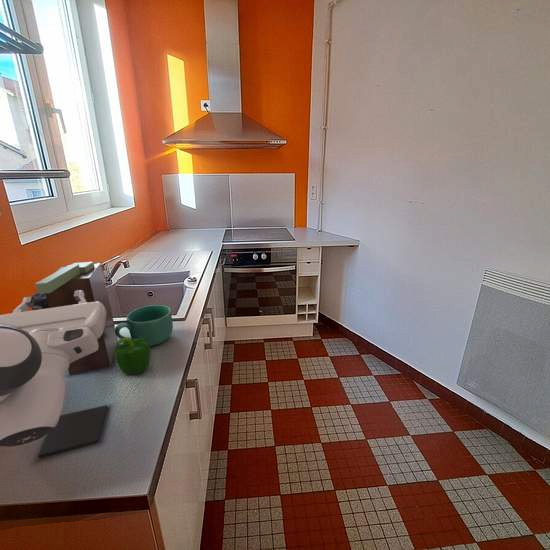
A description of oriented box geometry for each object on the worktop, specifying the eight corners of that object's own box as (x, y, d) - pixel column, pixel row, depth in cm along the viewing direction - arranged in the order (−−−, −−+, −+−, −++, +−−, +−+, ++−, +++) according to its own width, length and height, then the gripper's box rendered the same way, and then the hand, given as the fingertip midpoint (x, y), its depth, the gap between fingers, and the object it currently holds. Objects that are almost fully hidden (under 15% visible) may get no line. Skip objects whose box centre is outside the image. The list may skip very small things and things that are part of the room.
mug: (167, 326, 104) (163, 301, 101) (180, 341, 95) (176, 313, 92) (115, 342, 95) (108, 315, 92) (123, 361, 85) (116, 331, 82)
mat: (38, 457, 57) (37, 455, 56) (56, 418, 66) (55, 416, 65) (98, 442, 59) (97, 439, 59) (107, 407, 68) (106, 404, 68)
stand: (69, 374, 80) (41, 283, 72) (82, 347, 93) (60, 267, 84) (110, 366, 83) (89, 277, 75) (118, 341, 96) (100, 263, 87)
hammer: (56, 292, 66) (53, 282, 65) (31, 294, 65) (28, 284, 64) (94, 267, 83) (92, 258, 83) (75, 268, 83) (73, 259, 82)
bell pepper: (156, 358, 86) (150, 327, 83) (148, 376, 78) (142, 343, 75) (125, 361, 85) (118, 330, 82) (114, 380, 77) (106, 346, 74)
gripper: (-14, 370, 57) (5, 311, 65) (106, 348, 63) (109, 297, 72) (-34, 354, 52) (-11, 293, 61) (97, 332, 58) (102, 279, 67)
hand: (55, 295), depth 66 cm, fingers open, 8 cm apart
